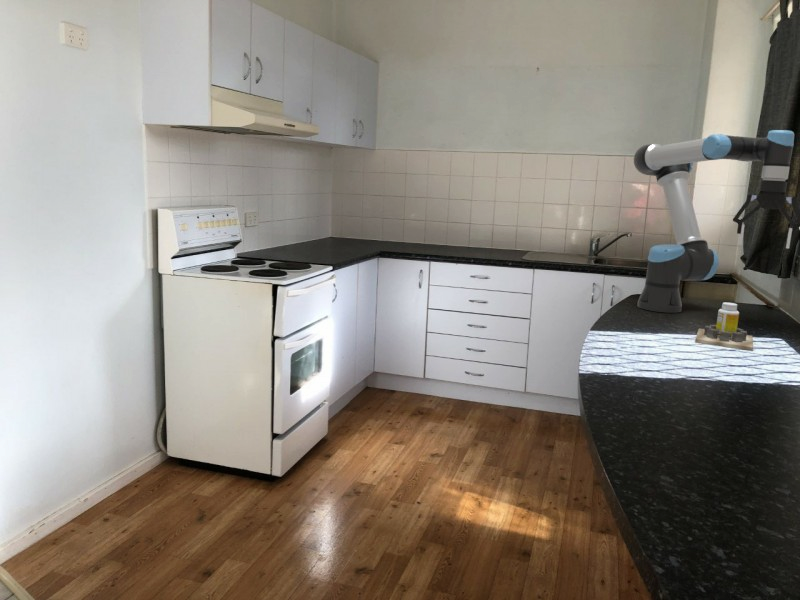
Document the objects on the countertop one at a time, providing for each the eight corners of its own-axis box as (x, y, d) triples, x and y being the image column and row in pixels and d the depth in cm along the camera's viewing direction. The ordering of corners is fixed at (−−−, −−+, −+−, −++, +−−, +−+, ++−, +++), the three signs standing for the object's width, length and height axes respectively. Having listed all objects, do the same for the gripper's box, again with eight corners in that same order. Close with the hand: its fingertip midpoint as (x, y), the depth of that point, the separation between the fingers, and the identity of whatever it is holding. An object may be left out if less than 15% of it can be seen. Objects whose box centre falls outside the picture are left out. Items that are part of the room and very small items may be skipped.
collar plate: (695, 342, 194) (696, 330, 194) (698, 331, 209) (699, 320, 209) (752, 350, 188) (754, 338, 187) (751, 339, 203) (753, 327, 202)
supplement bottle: (738, 338, 198) (744, 304, 196) (730, 340, 195) (735, 306, 193) (720, 334, 202) (725, 301, 200) (711, 336, 199) (716, 302, 197)
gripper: (818, 182, 212) (806, 249, 216) (731, 178, 222) (721, 241, 226) (820, 182, 205) (808, 250, 209) (730, 177, 216) (721, 243, 220)
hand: (763, 246), depth 218 cm, fingers open, 13 cm apart
